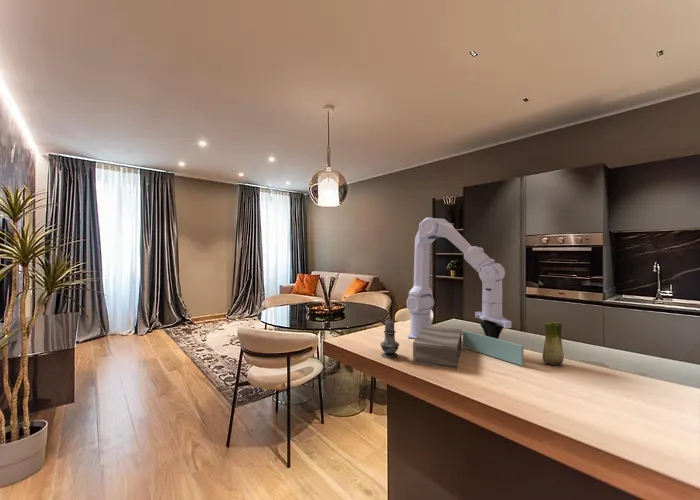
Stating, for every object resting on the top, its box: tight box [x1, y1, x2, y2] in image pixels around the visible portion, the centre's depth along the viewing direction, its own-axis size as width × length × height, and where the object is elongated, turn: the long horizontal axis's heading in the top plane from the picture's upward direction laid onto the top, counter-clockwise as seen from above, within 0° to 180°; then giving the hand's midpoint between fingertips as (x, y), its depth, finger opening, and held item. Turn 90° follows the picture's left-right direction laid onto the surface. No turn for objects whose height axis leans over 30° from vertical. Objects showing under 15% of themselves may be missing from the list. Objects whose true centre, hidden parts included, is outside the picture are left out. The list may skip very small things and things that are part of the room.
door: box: [462, 329, 525, 367], centre depth 99 cm, size 20×2×5 cm, turn 32°
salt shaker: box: [379, 316, 400, 360], centre depth 100 cm, size 6×6×12 cm
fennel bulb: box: [542, 321, 565, 366], centre depth 92 cm, size 6×5×12 cm
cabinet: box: [412, 326, 463, 370], centre depth 101 cm, size 20×12×6 cm, turn 157°
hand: (492, 345), depth 102 cm, fingers closed
